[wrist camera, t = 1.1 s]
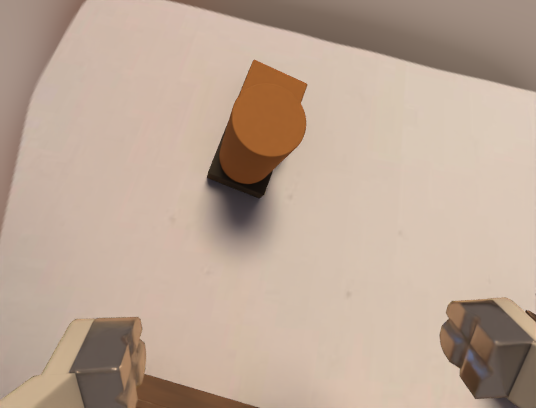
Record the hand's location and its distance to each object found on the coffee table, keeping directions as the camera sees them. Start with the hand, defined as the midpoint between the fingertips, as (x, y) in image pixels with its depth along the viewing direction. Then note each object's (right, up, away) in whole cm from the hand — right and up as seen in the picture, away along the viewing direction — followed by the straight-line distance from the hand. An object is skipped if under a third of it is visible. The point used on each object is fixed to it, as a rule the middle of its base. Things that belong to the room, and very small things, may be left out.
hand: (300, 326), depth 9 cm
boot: (-2, +9, +23) cm, 25 cm away
